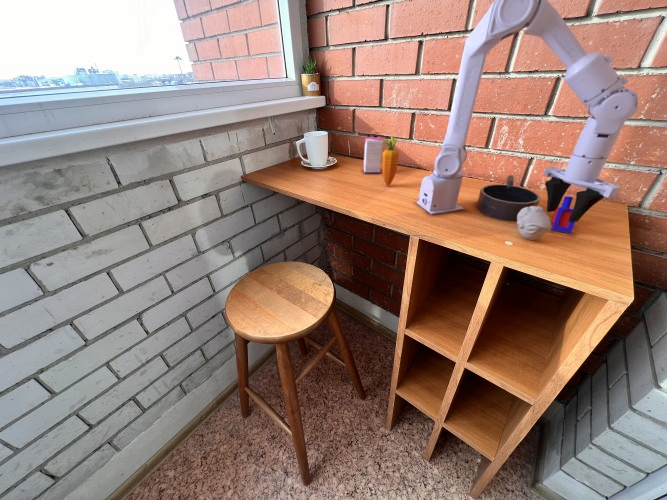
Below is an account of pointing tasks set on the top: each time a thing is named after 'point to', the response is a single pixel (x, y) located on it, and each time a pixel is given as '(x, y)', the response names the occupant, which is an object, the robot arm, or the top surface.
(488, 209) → the pot
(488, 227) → the top surface
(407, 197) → the top surface
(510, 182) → the pot handle
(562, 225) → the small bottle
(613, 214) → the top surface
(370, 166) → the supplement box
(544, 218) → the frog figurine
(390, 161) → the carrot
